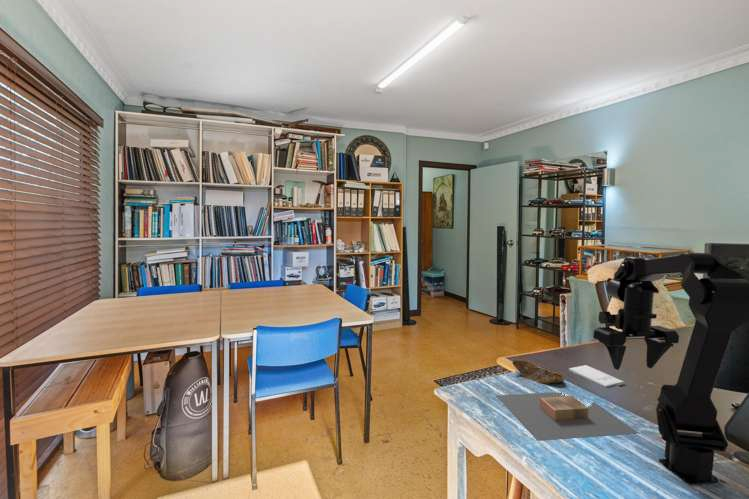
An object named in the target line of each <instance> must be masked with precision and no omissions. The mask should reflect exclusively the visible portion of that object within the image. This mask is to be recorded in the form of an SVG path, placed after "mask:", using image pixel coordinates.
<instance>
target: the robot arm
mask: <svg viewBox="0 0 749 499" xmlns="http://www.w3.org/2000/svg"><path fill="white" fill-rule="evenodd" d="M696 274H698V275H699V274H700V275H701V274H702V275H707V276H708V277H702V278H698V277H697V275H696ZM672 275H673V276H675V275H682V278H681V284H680V285H681V288H682V289H683V291H684V292H685V293H686V295H687V296H688V297H689V298H688V307H689V309H690V311H691V313H692V315H693V317H694V319H695V320H694V321H695V322H694V325H693V329H692V332H691V335H690V339H689V341H688V345H687V348H686V352H685V355H684V359H683V362H682V365H681V369H680V371H679V375H678V379H677V382H676V383H675V384H663V385H662V386H661V388H660V394H659V396H658V398H657V399H656V400H657V401H658V403H657V405H656V409H655V412H656V418H657V419H656V420H657V425H658V427H657V428H658V432H659V434H660V435H661V439H662V440H663V441H664V442H665V446H664V447H665V448H664V458H660V459H658V462H659V463H660V464H661V465H662V466H663V467H665V468H666V469H667V470H669V471H670V472H671V471H672V472H671V473H673V474H674V475H675V476H677V477H679V478H680V479H681V480H682V481H684V482H685V483H687V484H688V485H691V486H692V485H693V486H695V485H704V484H714V483H719V481H720V479H719V478H718V477H717V476H715V475H714V474H713V470H714V460H715V459H714V458H715V457H714V456H715V451H718V452H719V451H720V452H723V453H725V452H726V450H727V449H728V446H729V443H728V441H727V438H726V437H725V434H724V433H723V430H722V428H721V426H720V424H719V421H718V419H717V416H718V410H717V407H716V405H715V404H714V401H713V400H712V398H711V397H712V394H713V390H714V388H715V384H716V383H717V379H718V375H719V372H720V370H721V367H722V363H723V360H724V358H725V354H726V352H727V349H728V346H729V343H730V341H731V337H732V334H733V332H734V331H735V330H737V329H738V328H739V327H741V326H742V325H744V324H745V323H747V322H748V321H749V279H748V278H747V277H746V276H745V275H744V274H743V273H742V272H740V271H739V270H736V269H735V268H732V267H731V266H729V265H727V264H725V263H723V262H721V260H719V259H718V257H717V256H715V255H714V254H711V253H708V252H684V253H680V254H675V255H670V256H669V255H667V256H662V257H652V256H626V257H625V258H624V259H623V261H621V263H620V265H619V267H618V268H617V270H616V271H615V273H614V274H613V278H612V279H611V280H610V281H608V283H607V285H606V286H605V288H606V292H607V294H608V295H609V296H610V297H611V298H614V299H616V300H617V301H620V302H622V303H623V308H619V309H618V311H617V313H616V314H614V313H613V314H611V312H610V310H605V311H604V310H602V311H599V312H598V322H599V324H600V325H601V324H602V325H604V327H603V326H602V327H596V328H595V329H594V330H593V339H595V340H597V341H598V342H600V343H601V344H603V345H604V346H605V348H606V350H607V352H608V354H609V357H610V361H611V363H612V367H613V368H614V370H616V371H619V370H620V368H621V366H622V362H623V360H624V356H625V352H626V349H627V346H626V345H625V344H626V342H627V340H640V339H641V340H644V342H645V344H646V362H645V363H646V368H647V369H648V368H649V369H653V367H654V366H655V365H657V363H658V361H659V360H660V359H662V357H663V355H664V354H665V353H666V352H667V351H668V350H669V349H670V348H672V347H674V345H675V344H679V342H680V341H679V340H680V335H679V334H678V332H677V331H676V330H673V329H670V328H668V327H664V326H662V325H652V321H653V320H654V319H657V316H658V315H657V314H656V313H653V304H654V296H655V294H658V293H660V290H659V289H658V287H657V286H655V285H654V283H653V282H654V281H655V282H656V281H659V280H662V279H664V278H665V276H672ZM652 319H653V320H652ZM612 327H614V328H612ZM619 330H620V331H619ZM694 432H695V433H694ZM696 432H697V433H696Z"/></svg>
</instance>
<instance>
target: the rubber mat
mask: <svg viewBox="0 0 749 499" xmlns="http://www.w3.org/2000/svg"><path fill="white" fill-rule="evenodd" d="M556 392H558V393H556ZM559 392H561V393H559ZM562 392H563V391H551V392H535V393H515V394H514V393H513V394H499V395H498V394H497V395H494V396H495V397H496V398H497V399H498V400H499V401H500V403H502V404H503V405H504V407H506V409H507V410H508V411H509V412H510V413H511V415H513V416H514V417H515V419H517V420H518V422H519V423H520V424H522V426H523V427H524V428H525V429H526V430H527V432H529V433H530V434H531V435H532V437H533V438H534V439H535V440H536V441H538V442H540V441H551V440H563V439H577V438H578V439H579V438H591V437H593V438H594V437H606V436H620V435H622V436H623V435H633V434H634V435H635V434H639V431H637V430H635V429H634V428H633V427H631V426H629V424H627V423H625V422H624V421H623V420H621V419H620V418H618V417H617V416H616V415H614V414H613V413H611V412H610V411H608V410H607V409H605V408H604V407H603V406H601V405H600V404H598V403H597V402H595V401H594V402H593V403H592V404H591V405H592V406H591V405H590V407H589V406H588V408H589V410H588V418H578V419H563V420H553V419H552V418H551V417H550V416H549V415H548V414H547V413H546V412H545V411H543V410H542V409H541V408H540V398H546V397H563V396H565V394H564V393H563V394H564V395H562ZM561 395H562V396H561ZM596 403H597V404H596Z"/></svg>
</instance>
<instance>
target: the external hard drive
mask: <svg viewBox="0 0 749 499" xmlns="http://www.w3.org/2000/svg"><path fill="white" fill-rule="evenodd" d="M568 372H569V373H571V374H574V375H576V376H577V375H578V376H581V377H583V378H585V379H587V380H589V381H591V382H593V383H596V384H597V385H600V386H602V387H604V388H609V387H611V386H612V387H613V386H622V385H625V381H624V380H621V379H619V378H616V377H614V376H612V375H610V374H608V373H605V372H603V371H601V370H598V369H596V368H594V367H591V366H589V365H587V364H584V365H578V366H574V367H569V368H568Z"/></svg>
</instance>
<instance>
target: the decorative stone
mask: <svg viewBox="0 0 749 499" xmlns="http://www.w3.org/2000/svg"><path fill="white" fill-rule="evenodd" d="M512 365H513V366H514V367H515V368H516V370H517V371H518V372H519V373H520V374H521V376H522V377H524V378H525V379H528V378H529V379H528V380H530V379H531V381H533V382H535V381H536V383H537V382H538V383H539V384H545V385H547V384H556V383H563V382H565V378H563V376H562V375H561V374H559V373H558V372H554V371H553V370H550V369H546V368H543V367H541V366H539V365H537V364H536V363H534V362H533V363H532V362H529V361H528V360H524V359H519V358H515V359H513V361H512Z"/></svg>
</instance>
